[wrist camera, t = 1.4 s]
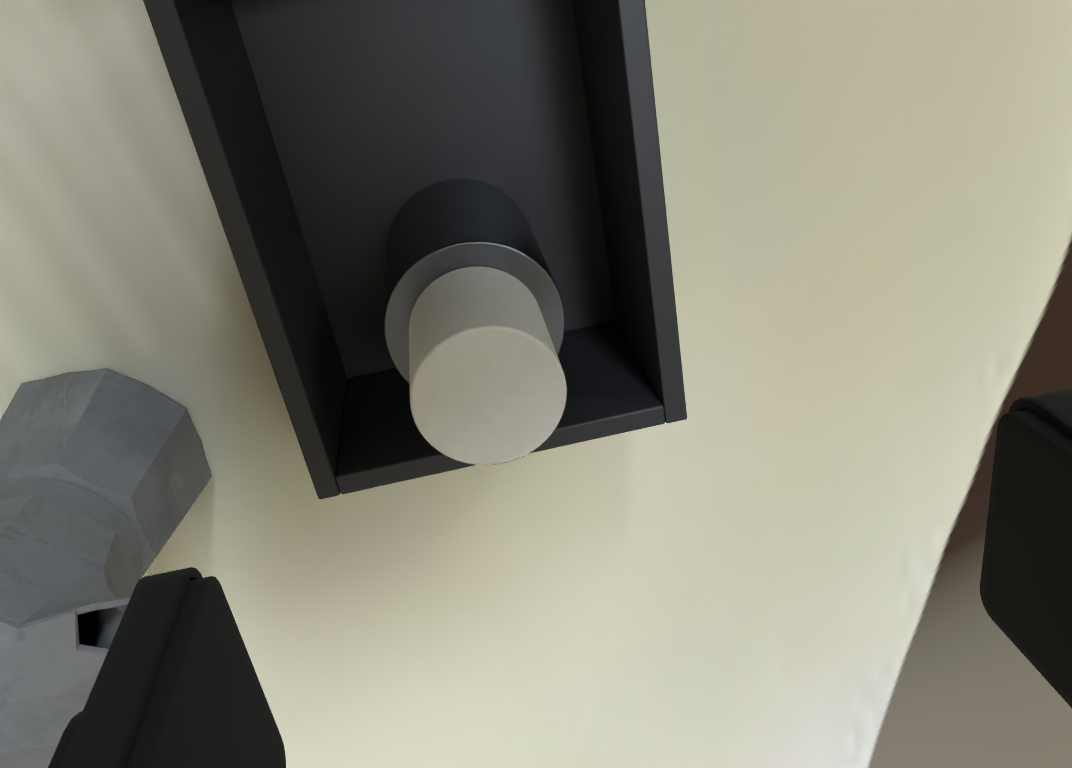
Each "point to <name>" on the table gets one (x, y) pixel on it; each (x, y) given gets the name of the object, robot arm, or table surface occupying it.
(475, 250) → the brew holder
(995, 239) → the table surface
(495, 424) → the cylinder
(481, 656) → the table surface
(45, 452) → the coffeepot
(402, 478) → the coffee maker
